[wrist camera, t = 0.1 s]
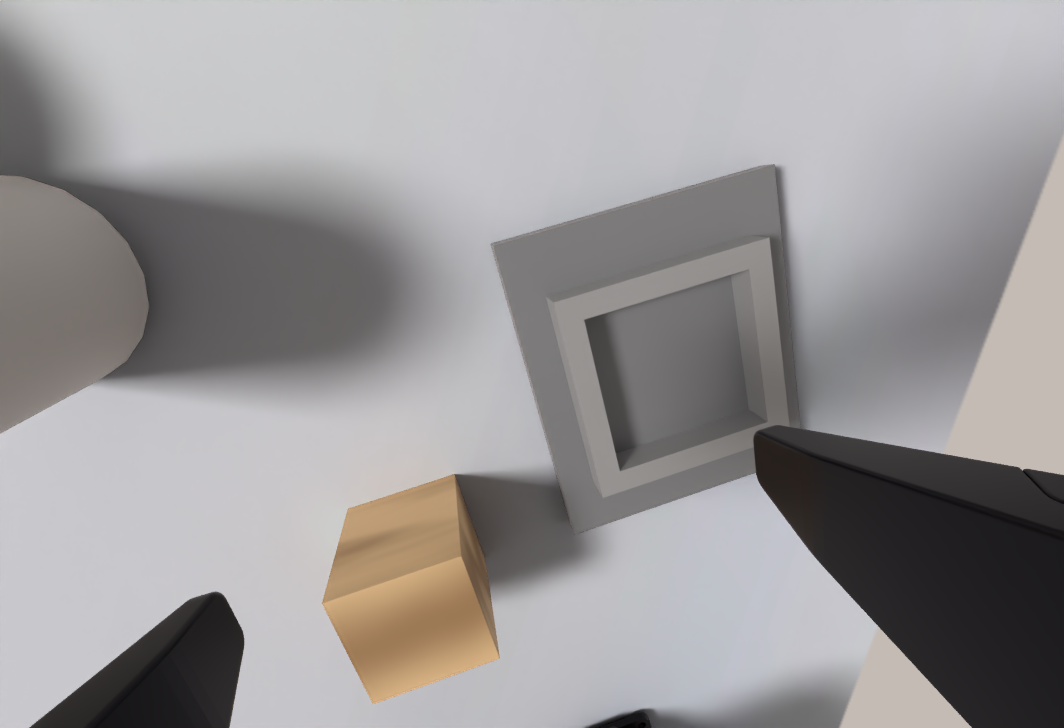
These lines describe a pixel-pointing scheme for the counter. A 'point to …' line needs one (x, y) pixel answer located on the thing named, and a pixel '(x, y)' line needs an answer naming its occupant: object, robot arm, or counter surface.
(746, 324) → the grey tray
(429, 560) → the oak block
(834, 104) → the counter surface
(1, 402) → the can
